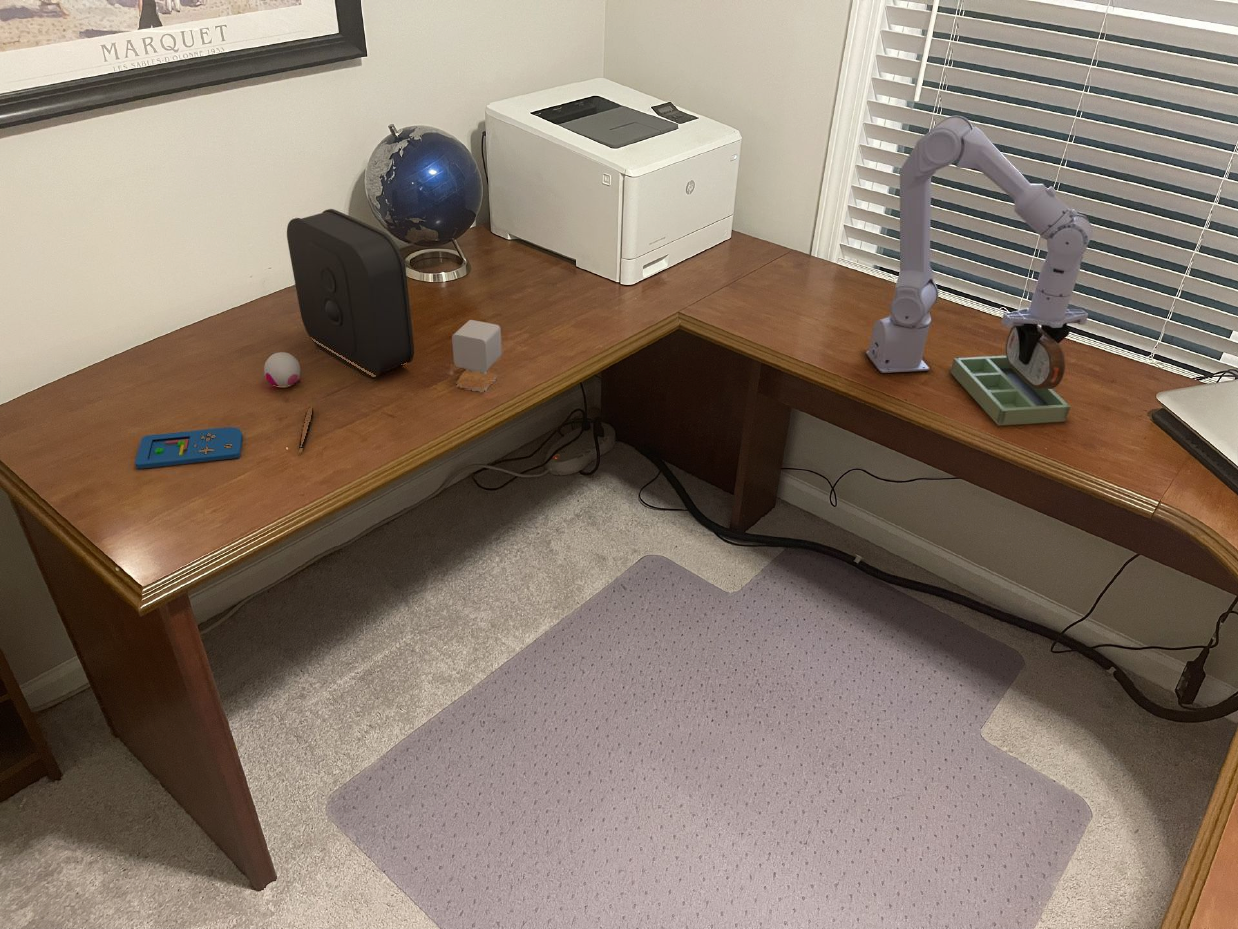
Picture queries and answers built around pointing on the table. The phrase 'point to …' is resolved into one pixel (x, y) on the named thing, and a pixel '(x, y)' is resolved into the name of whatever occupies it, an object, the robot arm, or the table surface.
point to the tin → (1038, 361)
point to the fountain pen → (306, 434)
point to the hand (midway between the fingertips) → (1031, 361)
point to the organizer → (1007, 392)
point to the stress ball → (282, 369)
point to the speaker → (352, 290)
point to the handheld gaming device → (188, 447)
